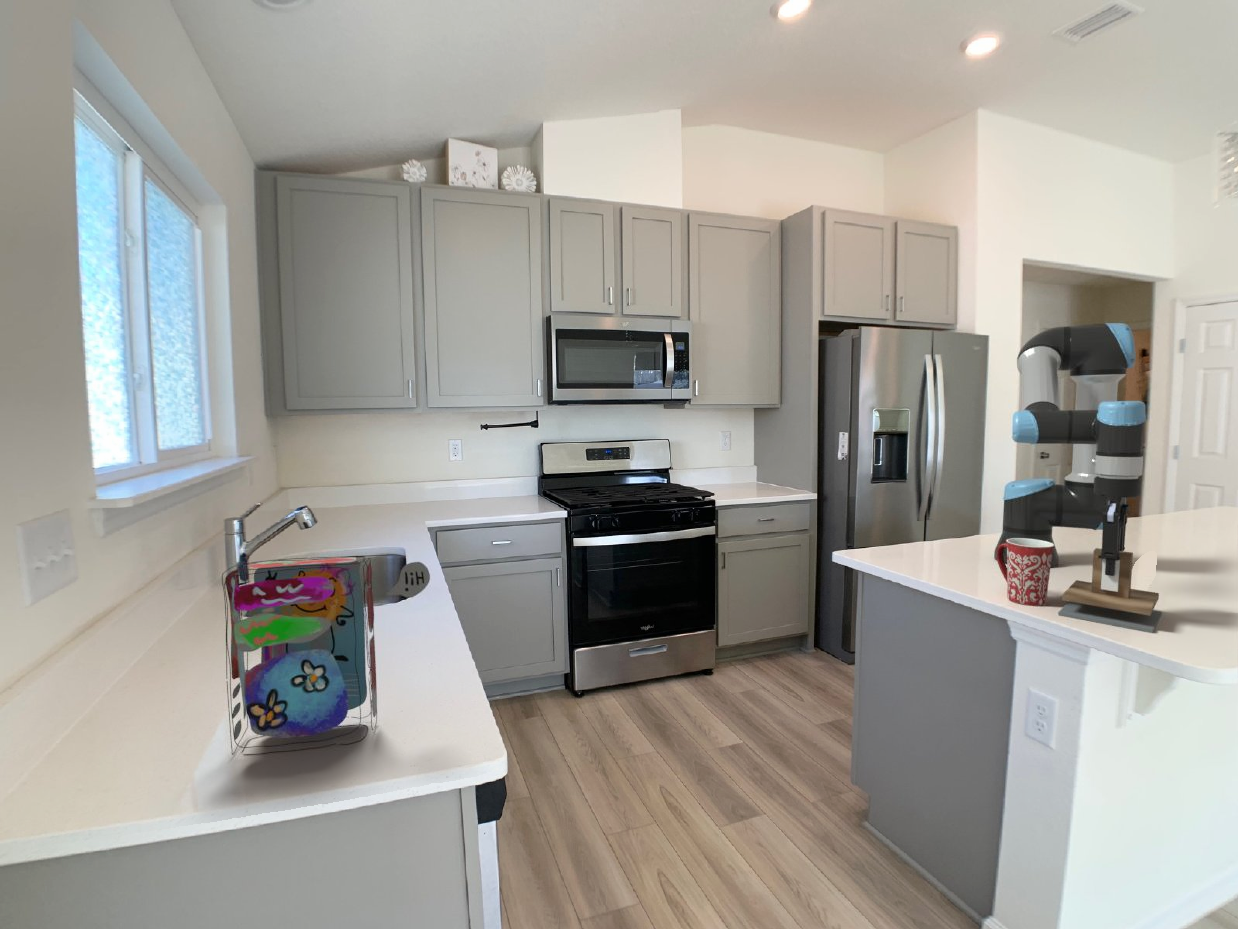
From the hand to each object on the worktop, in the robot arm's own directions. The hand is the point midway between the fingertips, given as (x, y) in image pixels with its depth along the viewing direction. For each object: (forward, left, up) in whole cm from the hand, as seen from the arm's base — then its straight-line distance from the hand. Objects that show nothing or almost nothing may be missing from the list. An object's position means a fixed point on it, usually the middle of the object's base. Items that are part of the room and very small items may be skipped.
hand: (1110, 587), depth 127 cm
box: (+132, -66, -6) cm, 148 cm away
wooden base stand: (0, 0, -2) cm, 2 cm away
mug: (0, -16, -6) cm, 17 cm away
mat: (0, 0, -6) cm, 6 cm away
